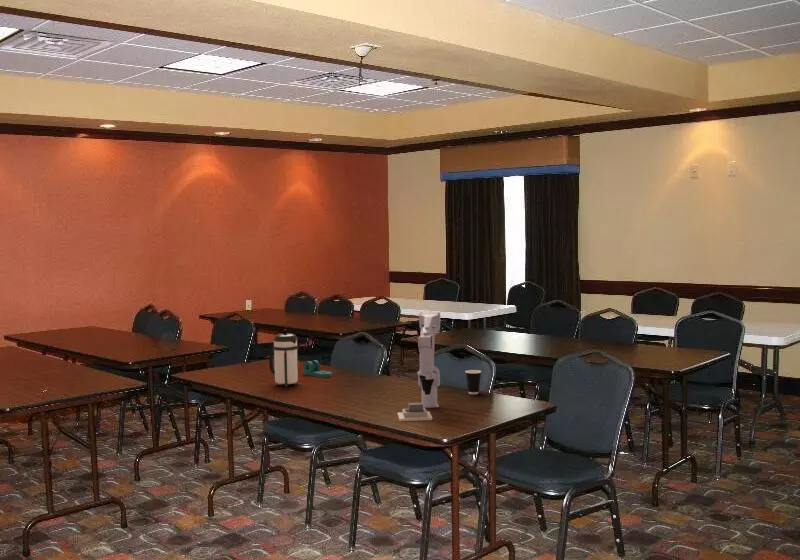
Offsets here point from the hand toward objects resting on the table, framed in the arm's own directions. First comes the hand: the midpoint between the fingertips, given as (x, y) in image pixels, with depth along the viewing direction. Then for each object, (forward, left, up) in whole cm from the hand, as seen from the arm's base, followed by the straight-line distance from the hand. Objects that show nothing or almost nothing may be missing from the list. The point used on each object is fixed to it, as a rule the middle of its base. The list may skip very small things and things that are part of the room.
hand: (426, 392), depth 359 cm
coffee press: (-77, -67, -10) cm, 103 cm away
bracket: (-102, -49, -10) cm, 114 cm away
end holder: (+6, -6, -9) cm, 13 cm away
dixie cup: (-40, +28, -10) cm, 50 cm away
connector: (+6, -6, -8) cm, 12 cm away
